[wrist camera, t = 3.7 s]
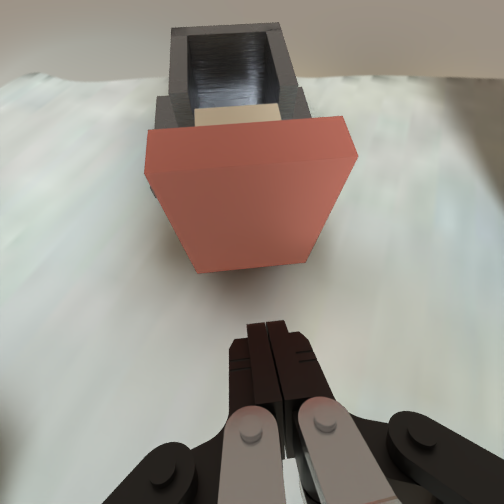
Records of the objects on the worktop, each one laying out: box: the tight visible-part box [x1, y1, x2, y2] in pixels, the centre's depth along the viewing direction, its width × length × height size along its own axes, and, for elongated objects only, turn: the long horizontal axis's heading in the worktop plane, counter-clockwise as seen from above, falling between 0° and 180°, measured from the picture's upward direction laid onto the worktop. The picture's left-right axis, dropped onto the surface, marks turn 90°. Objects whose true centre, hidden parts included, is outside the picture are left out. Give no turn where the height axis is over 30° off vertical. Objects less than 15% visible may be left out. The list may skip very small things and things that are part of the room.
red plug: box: [144, 103, 358, 274], centre depth 14 cm, size 7×9×9 cm
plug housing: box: [150, 22, 312, 198], centre depth 20 cm, size 14×11×6 cm
